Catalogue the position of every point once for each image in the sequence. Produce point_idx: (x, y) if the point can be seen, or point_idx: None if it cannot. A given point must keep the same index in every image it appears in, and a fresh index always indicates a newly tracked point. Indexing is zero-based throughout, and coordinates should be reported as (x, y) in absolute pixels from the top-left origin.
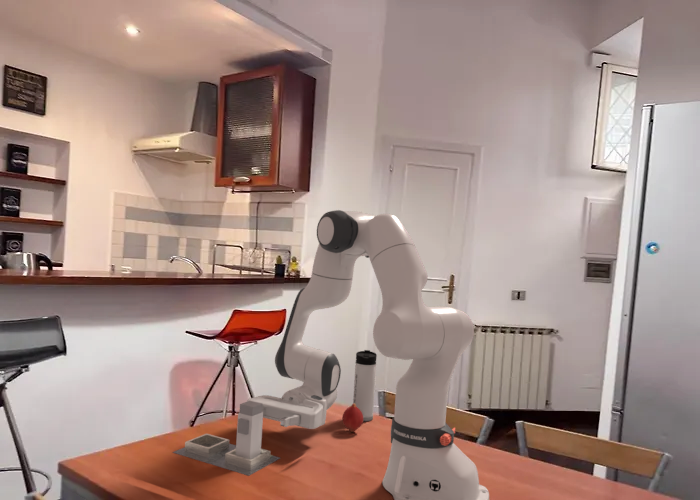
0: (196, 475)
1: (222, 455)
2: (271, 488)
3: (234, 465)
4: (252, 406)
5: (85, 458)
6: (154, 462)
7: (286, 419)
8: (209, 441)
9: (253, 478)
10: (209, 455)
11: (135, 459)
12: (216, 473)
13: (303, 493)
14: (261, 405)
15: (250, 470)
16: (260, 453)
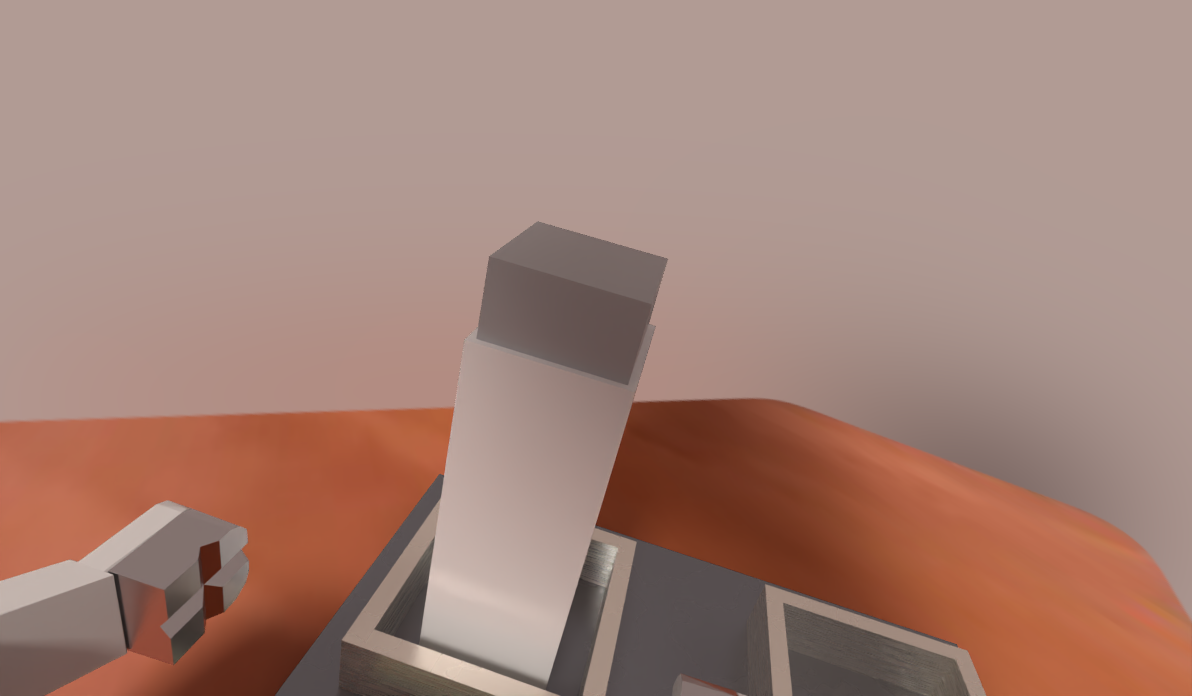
0: (678, 505)
1: (696, 671)
2: (312, 446)
3: None
4: (546, 227)
5: (1135, 566)
6: (928, 582)
7: (158, 506)
8: None
9: None
10: (750, 624)
11: (1016, 594)
12: None
13: (144, 423)
14: (492, 266)
15: None
16: (423, 622)
